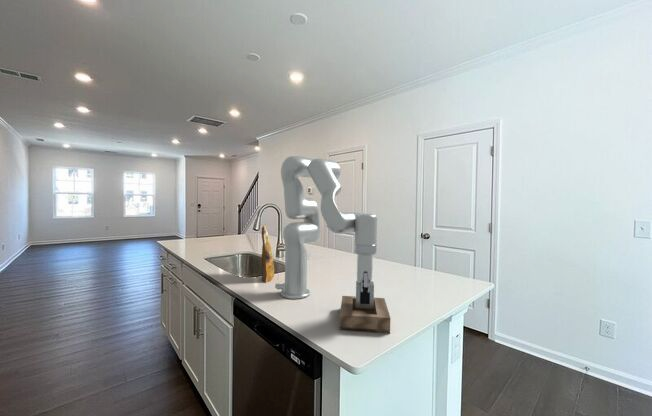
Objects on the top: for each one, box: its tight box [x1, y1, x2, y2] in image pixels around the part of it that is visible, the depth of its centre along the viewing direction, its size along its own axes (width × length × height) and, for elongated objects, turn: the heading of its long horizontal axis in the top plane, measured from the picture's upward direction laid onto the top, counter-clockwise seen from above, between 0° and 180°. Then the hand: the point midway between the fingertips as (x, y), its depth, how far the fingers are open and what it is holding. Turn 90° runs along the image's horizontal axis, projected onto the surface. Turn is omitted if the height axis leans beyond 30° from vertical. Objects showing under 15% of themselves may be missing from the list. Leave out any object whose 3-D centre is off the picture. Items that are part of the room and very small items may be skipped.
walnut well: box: [339, 295, 391, 335], centre depth 98 cm, size 16×18×5 cm
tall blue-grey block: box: [355, 280, 375, 309], centre depth 98 cm, size 6×4×8 cm
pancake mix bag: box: [260, 223, 275, 283], centre depth 147 cm, size 7×19×28 cm, turn 2°
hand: (364, 300), depth 98 cm, fingers closed on tall blue-grey block, 4 cm apart
